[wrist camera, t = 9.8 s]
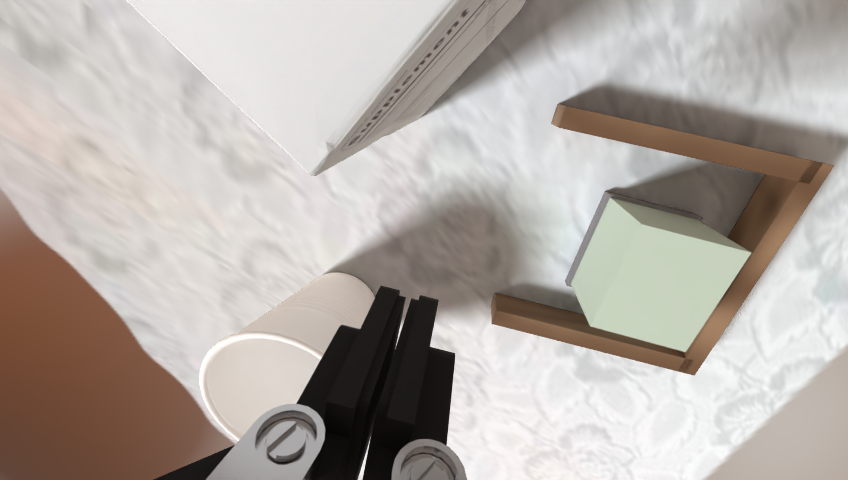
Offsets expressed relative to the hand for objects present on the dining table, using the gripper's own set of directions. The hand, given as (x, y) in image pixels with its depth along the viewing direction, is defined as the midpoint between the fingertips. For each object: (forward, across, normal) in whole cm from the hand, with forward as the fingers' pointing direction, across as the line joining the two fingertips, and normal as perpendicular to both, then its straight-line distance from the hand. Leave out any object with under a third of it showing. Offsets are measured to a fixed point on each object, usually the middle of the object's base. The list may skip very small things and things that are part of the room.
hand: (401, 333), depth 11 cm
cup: (+17, +6, +13) cm, 22 cm away
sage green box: (+17, -13, +2) cm, 22 cm away
